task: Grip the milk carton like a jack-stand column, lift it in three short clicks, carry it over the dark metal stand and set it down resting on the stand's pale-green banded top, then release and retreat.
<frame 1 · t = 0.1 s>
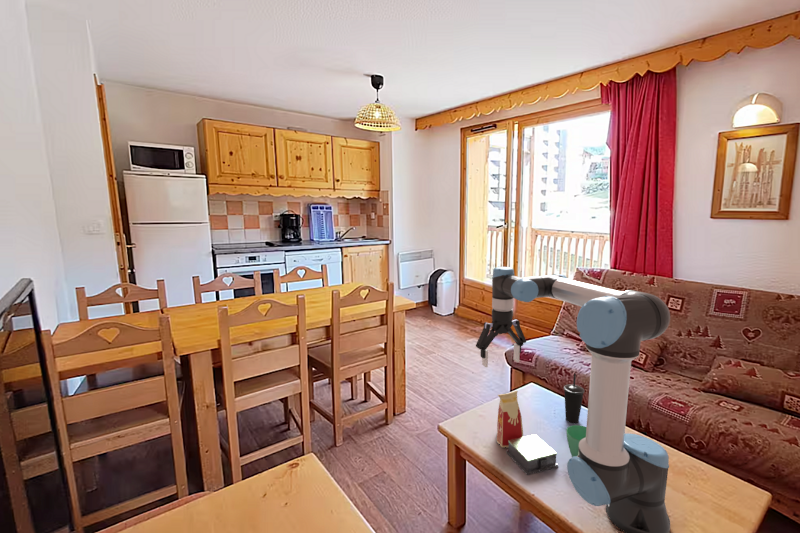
hand: (500, 363, 144), 28 cm above the table, fingers open, 13 cm apart
milk carton: (508, 441, 142), on the table
drinking cup: (572, 420, 155), on the table
stand: (531, 459, 131), on the table
mug: (583, 457, 133), on the table
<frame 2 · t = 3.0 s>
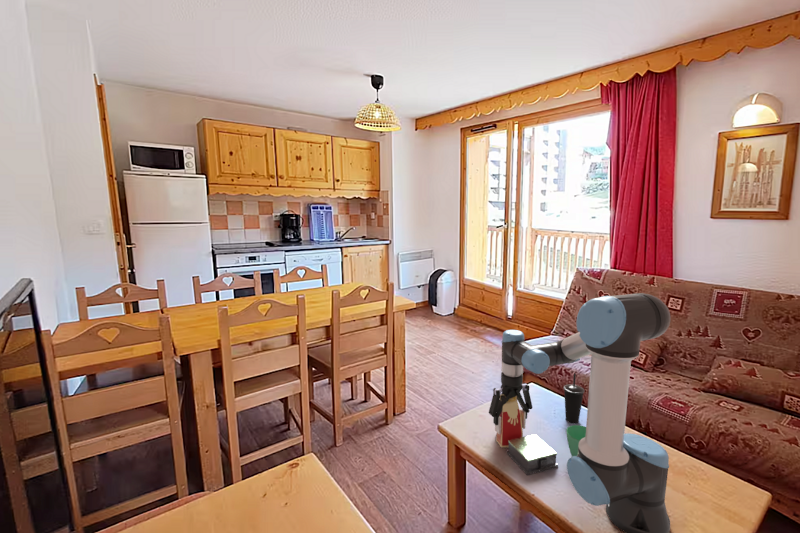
hand: (510, 429, 141), 5 cm above the table, fingers closed on milk carton, 10 cm apart
milk carton: (508, 441, 142), on the table, touching gripper
everything else where it was.
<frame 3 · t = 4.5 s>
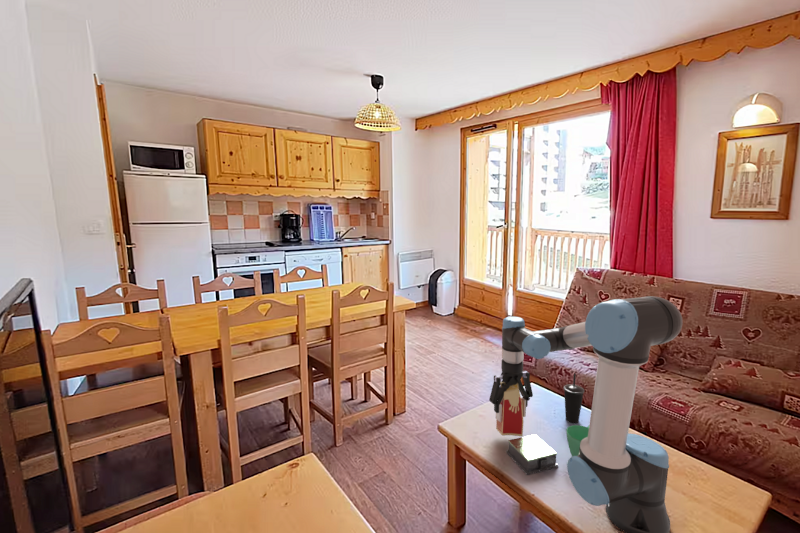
hand: (510, 417, 140), 10 cm above the table, fingers closed on milk carton, 9 cm apart
milk carton: (508, 429, 142), point 5 cm above the table, touching gripper
everything else where it was.
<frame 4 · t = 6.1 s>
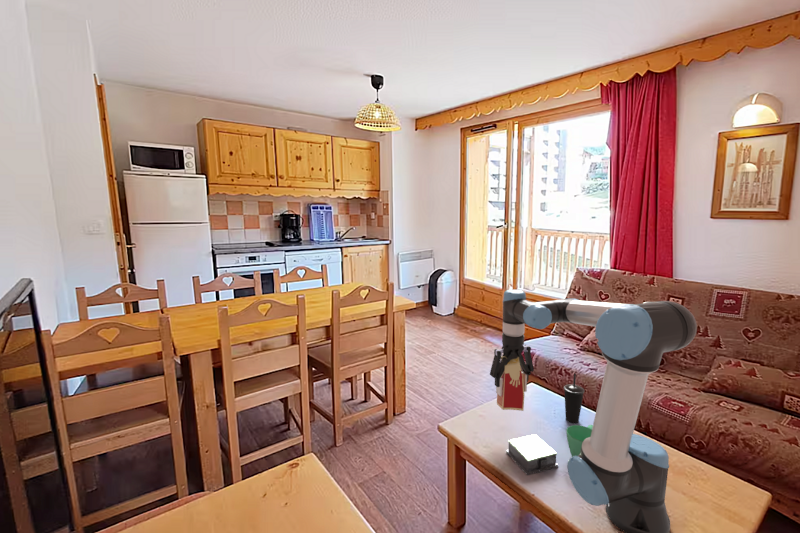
hand: (511, 392, 139), 19 cm above the table, fingers closed on milk carton, 9 cm apart
milk carton: (508, 404, 140), point 15 cm above the table, touching gripper
everything else where it was.
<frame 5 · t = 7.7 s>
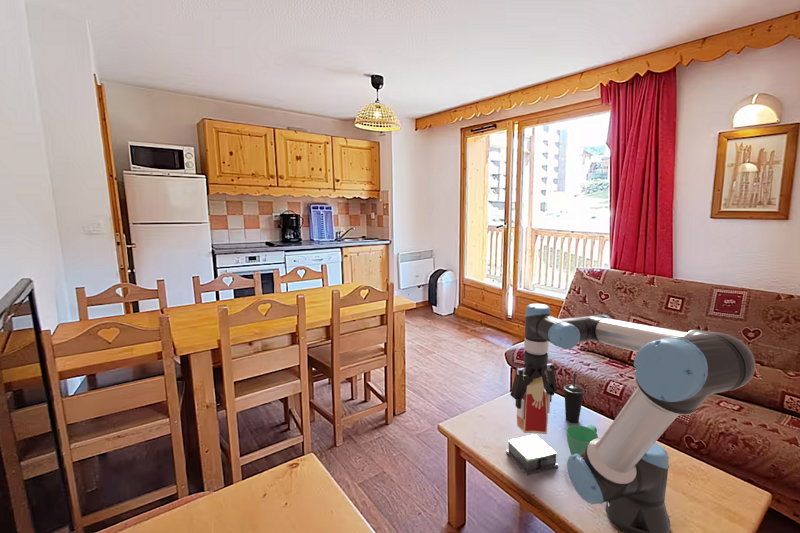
hand: (533, 413, 129), 17 cm above the table, fingers closed on milk carton, 9 cm apart
milk carton: (530, 426, 130), point 12 cm above the table, touching gripper
everything else where it was.
when the fingers open (11 cm above the table, at t = 9.2 s): milk carton drops 1 cm, resting on stand.
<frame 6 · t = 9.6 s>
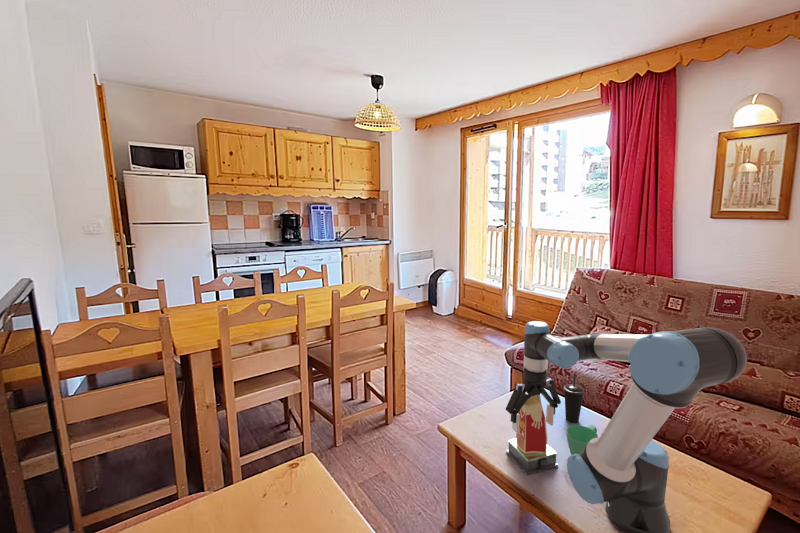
hand: (532, 427, 129), 12 cm above the table, fingers open, 13 cm apart
milk carton: (529, 446, 131), point 5 cm above the table, touching stand
everything else where it was.
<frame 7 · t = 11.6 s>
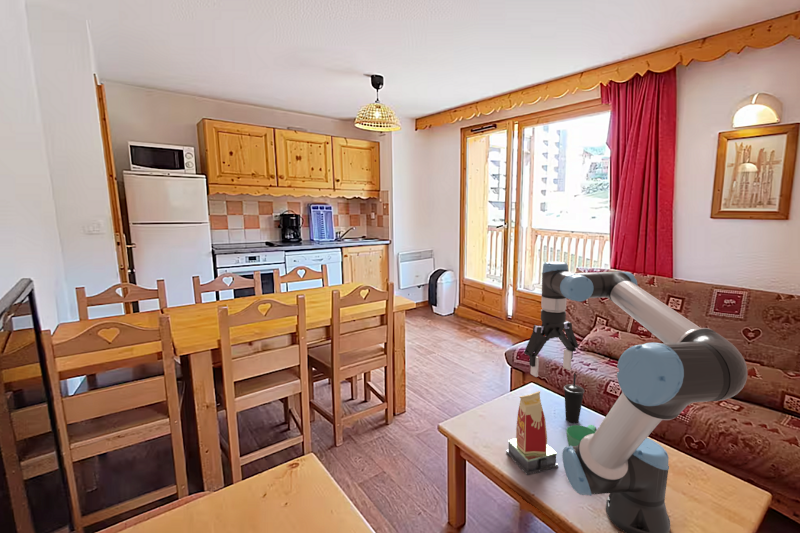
hand: (550, 372, 126), 32 cm above the table, fingers open, 13 cm apart
nothing on the table moved.
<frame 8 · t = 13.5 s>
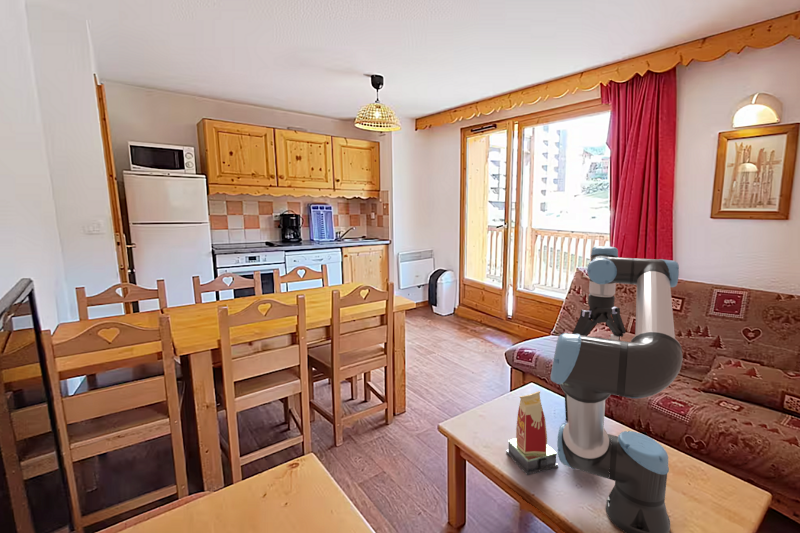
hand: (597, 356, 126), 37 cm above the table, fingers open, 13 cm apart
nothing on the table moved.
at the end: milk carton inside the target area on the stand (0.6 cm from its centre), point 4.8 cm above the stand's base; milk carton tilted 0°; the gripper is holding nothing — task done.
